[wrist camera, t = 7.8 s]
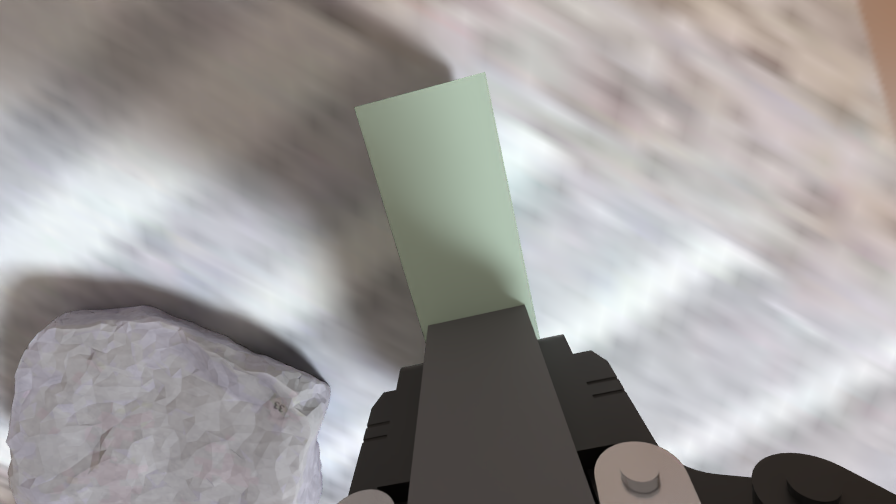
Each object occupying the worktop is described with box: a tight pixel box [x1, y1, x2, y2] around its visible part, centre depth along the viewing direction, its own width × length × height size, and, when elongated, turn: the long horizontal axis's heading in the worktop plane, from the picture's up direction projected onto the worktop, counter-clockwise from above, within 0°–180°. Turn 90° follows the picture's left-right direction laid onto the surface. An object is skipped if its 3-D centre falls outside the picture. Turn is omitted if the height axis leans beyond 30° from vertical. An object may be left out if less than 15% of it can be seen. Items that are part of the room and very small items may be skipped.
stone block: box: [6, 305, 331, 504], centre depth 18 cm, size 12×5×10 cm
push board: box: [354, 72, 595, 504], centre depth 11 cm, size 14×3×12 cm, turn 14°
